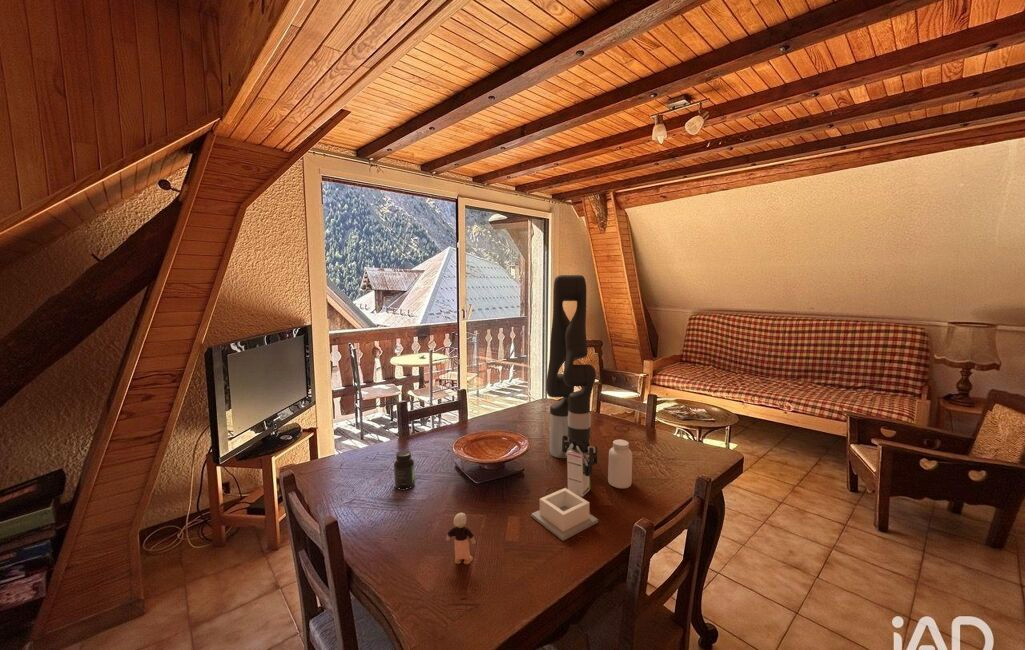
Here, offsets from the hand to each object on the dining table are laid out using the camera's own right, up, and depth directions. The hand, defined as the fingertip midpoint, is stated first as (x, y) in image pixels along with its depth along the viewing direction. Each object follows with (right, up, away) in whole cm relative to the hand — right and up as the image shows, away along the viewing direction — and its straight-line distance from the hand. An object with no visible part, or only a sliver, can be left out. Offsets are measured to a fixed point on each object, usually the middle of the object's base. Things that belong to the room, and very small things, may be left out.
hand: (579, 470), depth 135 cm
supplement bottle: (-60, -8, +6) cm, 61 cm away
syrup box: (0, -7, +1) cm, 7 cm away
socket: (-7, -9, -15) cm, 19 cm away
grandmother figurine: (-35, -12, -32) cm, 49 cm away
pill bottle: (+15, -7, +6) cm, 18 cm away
